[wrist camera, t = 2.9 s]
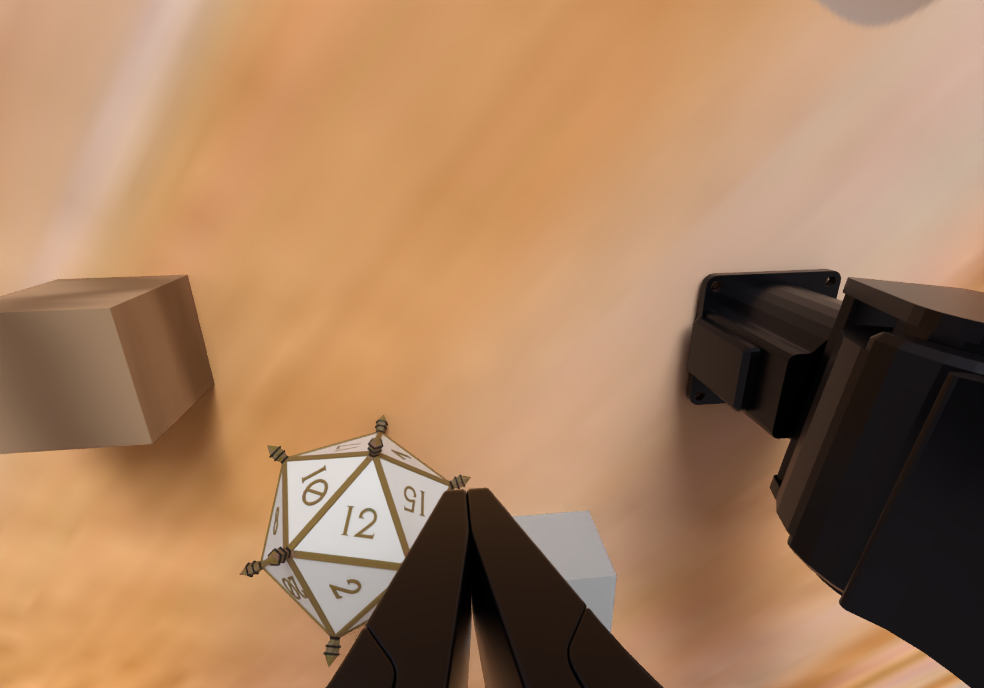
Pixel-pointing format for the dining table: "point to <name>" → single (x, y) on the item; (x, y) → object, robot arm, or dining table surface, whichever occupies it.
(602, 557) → the slate block
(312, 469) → the game die
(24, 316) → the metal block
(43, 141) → the dining table surface
